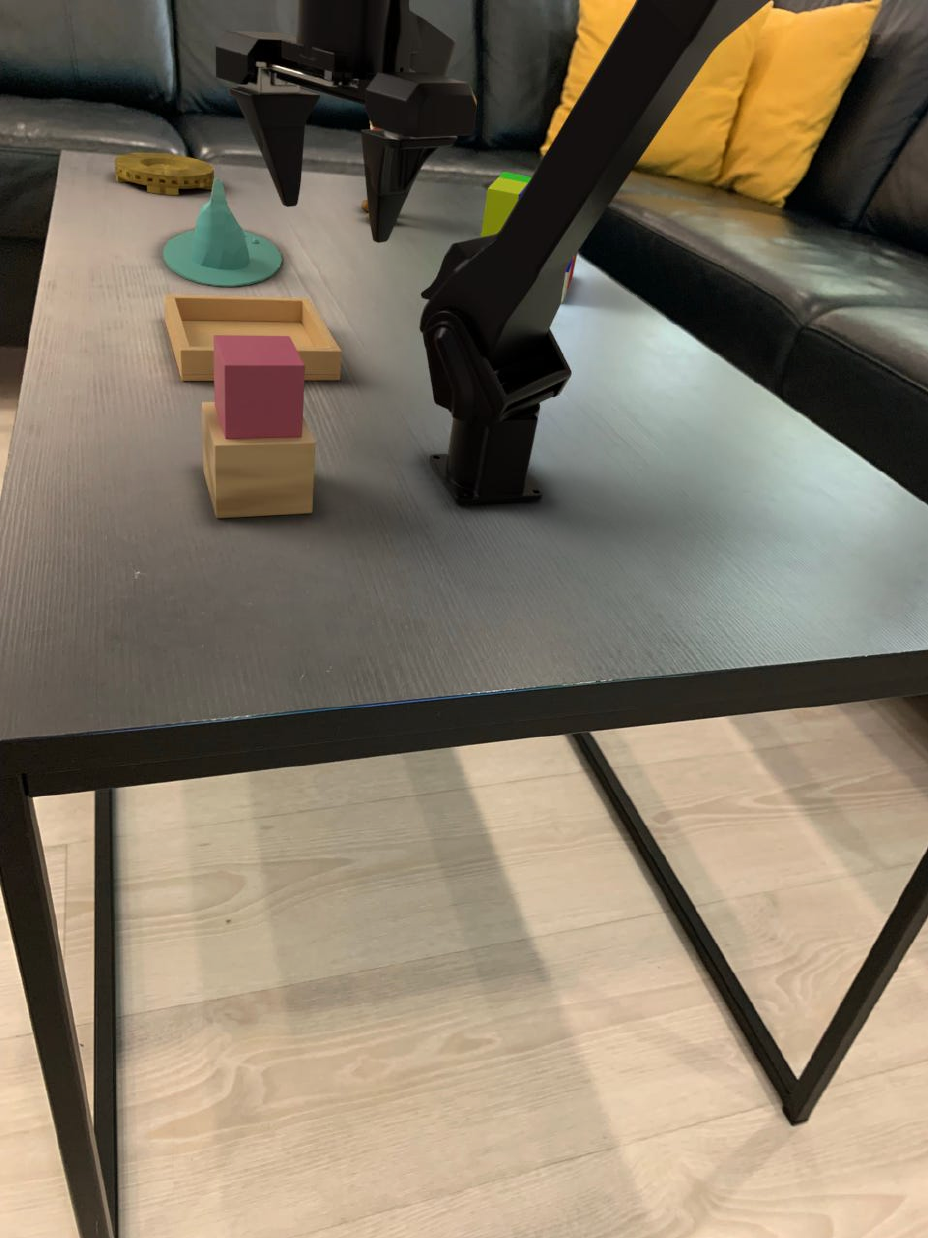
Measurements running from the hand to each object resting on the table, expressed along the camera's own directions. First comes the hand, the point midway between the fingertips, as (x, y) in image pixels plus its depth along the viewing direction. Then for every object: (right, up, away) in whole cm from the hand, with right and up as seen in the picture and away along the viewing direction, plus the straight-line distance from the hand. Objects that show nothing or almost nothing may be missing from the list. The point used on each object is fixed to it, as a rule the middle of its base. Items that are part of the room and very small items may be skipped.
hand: (333, 223), depth 65 cm
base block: (-4, -19, -4) cm, 20 cm away
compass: (-29, +29, +55) cm, 69 cm away
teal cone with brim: (-17, +11, +35) cm, 40 cm away
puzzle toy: (+16, +11, +42) cm, 47 cm away
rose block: (-4, -15, -7) cm, 17 cm away
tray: (-9, -5, +15) cm, 18 cm away
